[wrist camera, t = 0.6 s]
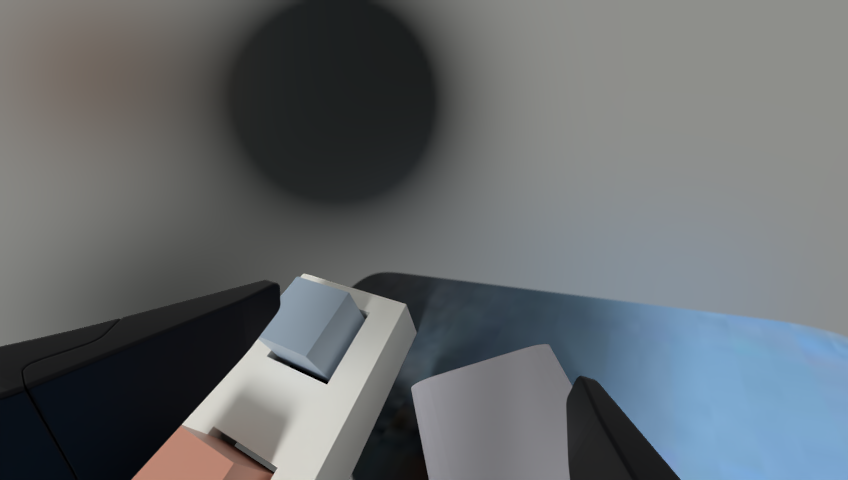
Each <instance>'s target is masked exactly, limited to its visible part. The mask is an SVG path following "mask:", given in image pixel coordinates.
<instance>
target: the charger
mask: <svg viewBox="0 0 848 480" xmlns="http://www.w3.org/2000/svg"><path fill="white" fill-rule="evenodd" d="M572 387H573V386H572V385H571V383H570V381H569V379H568V377H567V376H566V374H565V372H564V370H563V369H562V367H561V365H560V363H559V362H558V360H557V358H556V356H555V354H554V353H553V351H552V349H551V347H550V346H549V344H540V345H534V346H530V347H527V348H523V349H520V350H517V351H514V352H510V353H507V354H504V355H501V356H497V357H494V358H491V359H488V360H484V361H481V362H478V363H475V364H471V365H468V366H465V367H462V368H458V369H455V370H452V371H449V372H445V373H442V374H439V375H436V376H433V377H430V378H427V379H425V380H422V381H420V382H418V383H416V384H415V385H413V386H412V387H411V391H412V396H413V401H414V406H415V411H416V416H417V421H418V426H419V432H420V437H421V442H422V447H423V452H424V457H425V462H426V467H427V472H428V477H429V480H570V475H569V467H568V447H567V417H566V401H567V397H568V395H569V393H570V391H571V389H572Z"/></svg>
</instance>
